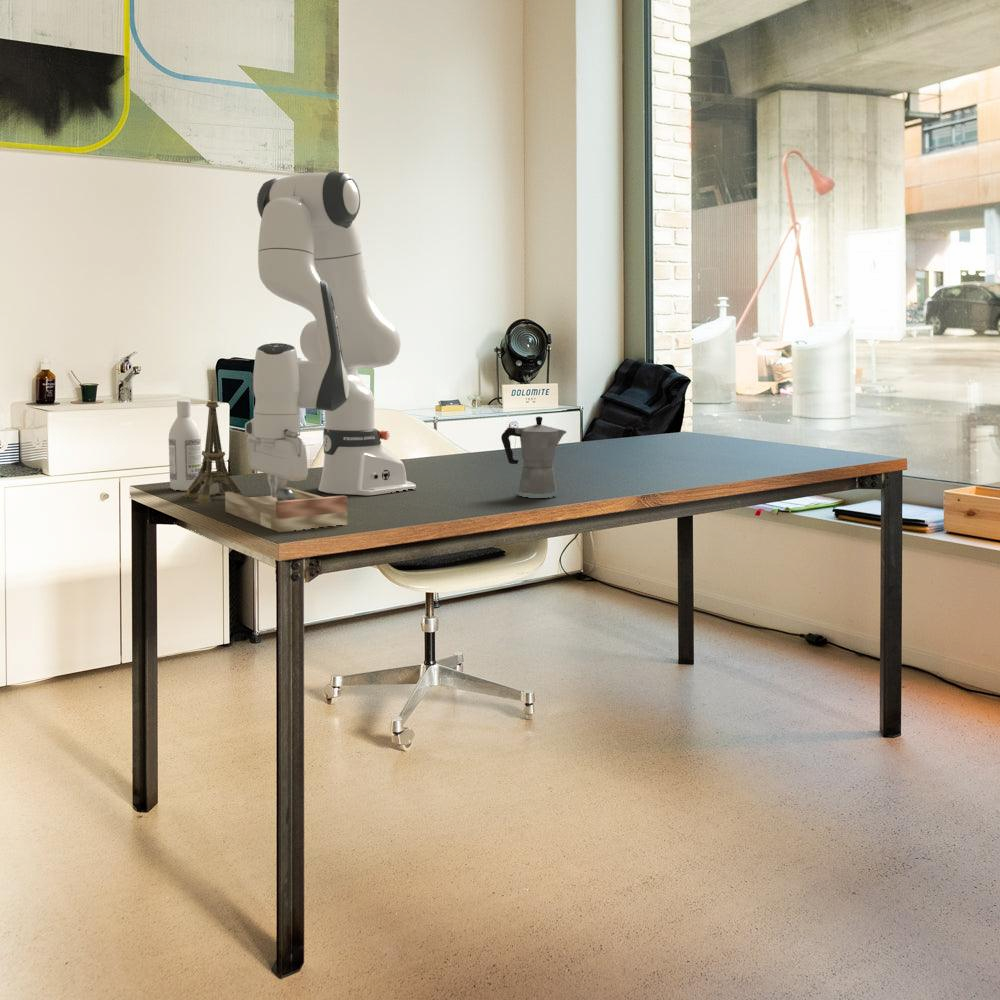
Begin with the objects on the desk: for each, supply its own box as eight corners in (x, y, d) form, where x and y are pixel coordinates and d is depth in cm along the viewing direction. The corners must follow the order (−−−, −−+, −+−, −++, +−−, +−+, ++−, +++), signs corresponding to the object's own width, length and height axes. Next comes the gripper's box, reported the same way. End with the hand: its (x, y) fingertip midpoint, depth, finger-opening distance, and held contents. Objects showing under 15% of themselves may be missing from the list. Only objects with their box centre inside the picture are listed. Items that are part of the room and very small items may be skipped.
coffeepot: (556, 491, 253) (558, 414, 251) (572, 498, 245) (574, 418, 242) (493, 493, 249) (495, 415, 246) (507, 500, 240) (508, 418, 237)
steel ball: (289, 489, 214) (295, 485, 212) (292, 506, 214) (299, 503, 211) (272, 491, 212) (279, 487, 210) (275, 508, 212) (282, 505, 209)
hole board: (289, 505, 227) (288, 479, 226) (347, 525, 207) (347, 496, 206) (225, 511, 219) (224, 484, 218) (279, 532, 199) (279, 502, 198)
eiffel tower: (198, 503, 229) (195, 384, 225) (182, 496, 237) (179, 381, 233) (246, 499, 235) (244, 383, 231) (229, 492, 243) (226, 380, 239)
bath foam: (206, 487, 250) (203, 400, 247) (196, 491, 243) (194, 402, 240) (176, 486, 250) (173, 399, 247) (165, 491, 243) (163, 401, 240)
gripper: (315, 432, 205) (316, 504, 208) (270, 422, 222) (271, 489, 224) (284, 433, 202) (285, 507, 204) (241, 423, 218) (242, 491, 220)
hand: (277, 497), depth 214 cm, fingers closed
